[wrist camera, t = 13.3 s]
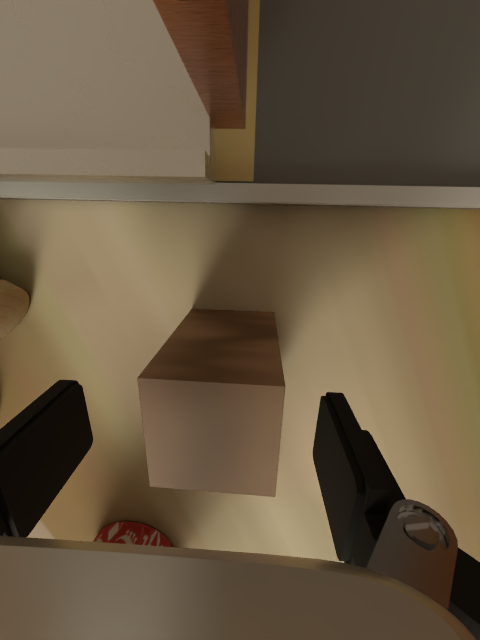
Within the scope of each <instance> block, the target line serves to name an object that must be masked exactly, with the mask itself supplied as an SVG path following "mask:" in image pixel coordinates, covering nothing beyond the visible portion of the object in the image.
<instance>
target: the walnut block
mask: <svg viewBox="0 0 480 640" xmlns="http://www.w3.org/2000/svg"><path fill="white" fill-rule="evenodd" d="M137 379H138V387H139V396H140V405H141V413H142V422H143V431H144V439H145V448H146V457H147V465H148V474H149V483H150V487H160V488H172V489H185V490H197V491H209V492H222V493H234V494H246V495H258V496H271V497H275V493H276V482H277V471H278V460H279V450H280V439H281V428H282V417H283V406H284V395H285V382H284V375H283V369H282V362H281V356H280V349H279V343H278V336H277V330H276V323H275V317H274V312H252V311H229V310H206V309H191V311H190V312H189V313H188V314H187V316H186V317H185V318H184V320H183V321H182V322H181V323H180V325H179V326H178V327H177V328H176V330H175V331H174V332H173V334H172V335H171V336H170V337H169V339H168V340H167V341H166V342H165V344H164V345H163V346H162V348H161V349H160V350H159V351H158V353H157V354H156V355H155V356H154V358H153V359H152V360H151V361H150V363H149V364H148V365H147V367H146V368H145V369H144V370H143V372H142V373H141V374H140V375H139V377H138V378H137Z"/></svg>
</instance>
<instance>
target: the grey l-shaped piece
mask: <svg viewBox="0 0 480 640" xmlns="http://www.w3.org/2000/svg"><path fill="white" fill-rule="evenodd" d="M248 12H249V0H0V181H4V182H60V183H116V184H172V185H215V129H245V128H246V90H247V51H248Z"/></svg>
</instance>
